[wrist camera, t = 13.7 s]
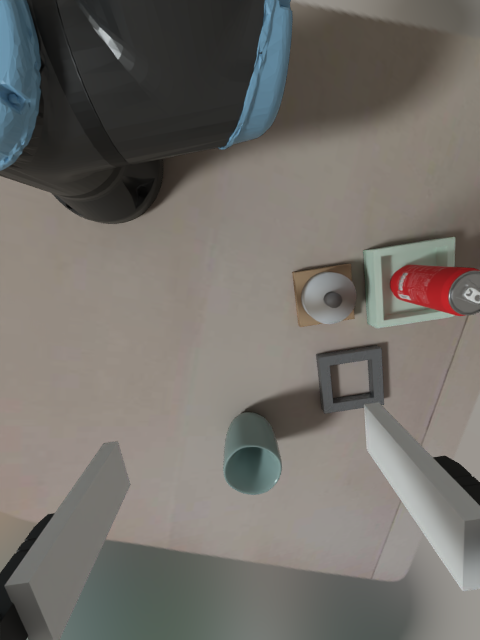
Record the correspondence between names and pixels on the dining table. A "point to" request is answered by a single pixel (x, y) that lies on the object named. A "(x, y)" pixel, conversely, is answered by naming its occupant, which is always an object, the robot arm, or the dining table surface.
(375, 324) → the tray
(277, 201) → the dining table surface
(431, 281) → the beverage can
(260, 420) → the cup
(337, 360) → the frame
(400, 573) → the dining table surface
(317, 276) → the service bell
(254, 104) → the robot arm
